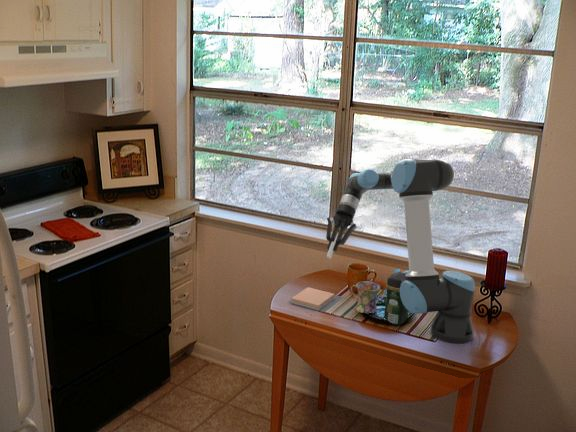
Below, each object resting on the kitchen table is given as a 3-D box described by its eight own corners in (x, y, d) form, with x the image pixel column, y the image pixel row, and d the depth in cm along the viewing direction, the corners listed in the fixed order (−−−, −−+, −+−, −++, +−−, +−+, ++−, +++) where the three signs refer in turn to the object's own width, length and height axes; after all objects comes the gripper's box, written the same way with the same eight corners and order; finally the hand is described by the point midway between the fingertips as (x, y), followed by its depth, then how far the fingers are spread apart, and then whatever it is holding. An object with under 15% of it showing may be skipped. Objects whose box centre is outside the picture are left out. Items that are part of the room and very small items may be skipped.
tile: (307, 287, 268) (291, 298, 256) (334, 293, 263) (318, 305, 251) (307, 291, 269) (291, 302, 257) (334, 298, 263) (318, 310, 251)
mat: (309, 290, 272) (309, 288, 272) (343, 299, 265) (344, 297, 265) (287, 304, 257) (287, 302, 257) (324, 314, 250) (324, 312, 250)
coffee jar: (390, 313, 254) (395, 268, 249) (409, 318, 250) (414, 273, 245) (379, 321, 246) (384, 275, 241) (399, 327, 242) (404, 280, 237)
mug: (382, 310, 256) (384, 285, 253) (371, 318, 249) (373, 292, 246) (354, 302, 262) (356, 277, 259) (343, 309, 255) (345, 284, 252)
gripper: (363, 215, 274) (345, 265, 265) (334, 208, 279) (315, 257, 270) (361, 206, 268) (342, 257, 259) (331, 200, 272) (312, 249, 264)
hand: (328, 257), depth 265 cm, fingers closed
